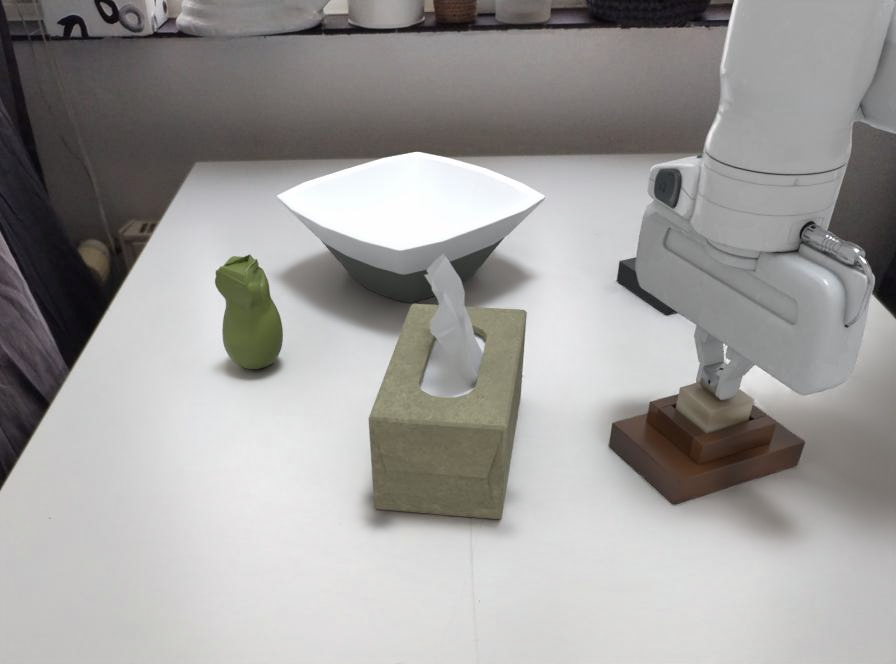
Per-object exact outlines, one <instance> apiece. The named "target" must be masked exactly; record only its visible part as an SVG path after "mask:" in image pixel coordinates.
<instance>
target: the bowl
mask: <svg viewBox="0 0 896 664" xmlns="http://www.w3.org/2000/svg"><path fill="white" fill-rule="evenodd" d="M276 198H277V200H278V202H280V203H281V204H282V205H283V206H284V208H286V209H287V210H288V211H289V212H290V213H291V214H292V215H293V216H294V217H295V218H296V219H297V220H298V221H299V222H301V224H303V225H304V226H305V227H306V228H307V229H308V230H309V231H310V232H311V233H312V234H313V235H314V236H315V237H317V238H318V239H319V240H320V241H321V242H322V244H323V245H324V246H325V248H327V250H328V251H329V252H330V253H331V254H332V256H333V257H334V258H335V259H336V260H337V262H338V263H339V264H340V265H341V266H342V267H343V269H344V270H345V271H346V273H347V274H348V275H350V277H352V278H353V279H354V281H356V282H357V283H358V284H360V285H362V286H363V287H366V289H369V290H371V291H372V292H374V293H377V294H379V295H382V296H384V297H386V298H388V299H392V300H395V301H399V302H402V303H405V304H406V303H407V304H408V303H413V302H417V301H421V300H426V299H429V298H431V297H433V296H435V294H434V293H433V291H432V286H431V285H430V283H429V282H428V280H427V279H426V277H425V275H426V274H428V272H427V271H426V270H427V269H428V268H429V267H430V266H431V264H432V263H433V262H434V261H435V260H436V259H437V258H439V257H440V256H441V255H442V254H444V255H445V256H446V258H447V259H448V261H449V262H450V264H451V265H452V267H453V268H454V270H455V271H456V273H457V274H458V276H459V277H460V279H461V281H462V284H465V282H467V281H468V280H470V279H471V278H473V277H474V276H475V274H476V273H477V272H478V271H479V269H480V268H481V267H482V266H483V265H484V264H485V262H487V260H488V259H489V257H490V256H491V255H492V254H493V253H494V251H495V250H496V249H497V248H498V246H499V245H500V244H501V243H502V241H503V240H504V239H505V238H506V237H507V236H509V235H510V234H511V233H512V232H513V231H514V230H515V229H516V228H517V227H518V226H519V225H520V224H521V223H522V222H523V221H524V220H526V218H527V217H528V216H529V215H531V213H533V211H534V210H536V208H537V207H539V205H540V204H542V203H543V202H544V201H545V199H546V196H545V195H544V194H543V193H541V192H539V191H537V190H535V189H533V188H532V187H530V186H528V185H527V184H525V183H523V182H521V181H518V180H515V179H513V178H510V177H508V176H505V175H503V174H501V173H498V172H496V171H494V170H492V169H489V168H486V167H483V166H480V165H479V166H478V165H476V164H472V163H468V162H465V161H461V160H459V159H454V158H451V157H446V156H442V155H436V154H431V153H426V152H421V151H414V152H408V153H403V154H402V153H401V154H397V155H392V156H387V157H386V156H385V157H382V158H379V159H376V160H372V161H369V162H365V163H362V164H358V165H354V166H352V167H349V168H345V169H341V170H338V171H336V172H332V173H330V174H326V175H322V176H320V177H317V178H314V179H310V180H306V181H304V182H302V183H300V184H298V185H296V186H294V187H292V188H289V189H288V190H285V191H283V192H281V193H279V194H277V195H276Z"/></svg>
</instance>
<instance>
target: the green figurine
mask: <svg viewBox="0 0 896 664" xmlns="http://www.w3.org/2000/svg"><path fill="white" fill-rule="evenodd" d="M214 285H215V287H216V289H217V291H218V292H219V294H220V295H221V296H222V297H223V298H224V300H225V309H224V312H223V313H224V314H223V317H222V318H223V319H222V330H221V331H222V333H221V334H222V343H223V347H224V350H225V352H226V354H227V356H228V357H229V358H230V359H231V361H233V363H235V364H236V365H238V366H240V367H242V368H244V369H246V370H247V369H248V370H259V369H263V368H266V367H268V366H270V365H271V364H273V363H274V362H275V361H276V360H277V358H278V357H279V355H280V353H281V350H282V348H283V342H284V329H283V322H282V318H281V315H280V313H279V310H278V307H277V306H276V304H275V302H274V300H273V298H272V296H271V291H270V290H271V289H270V284H269V280H268V277H267V275H266V273H265V271H264V269H263V268H262V267H260V266H259V261H258V259H257V258H254V257H253V256H252V255H251V253H249V254H247V255H245V256H237V255H236V256H235V255H233V256H230V257H229V258H228V260H227V261H225V263H224V264H223V265H222V266H219V268H218V269H217V270H215V279H214Z"/></svg>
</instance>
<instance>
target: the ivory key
mask: <svg viewBox="0 0 896 664" xmlns="http://www.w3.org/2000/svg"><path fill="white" fill-rule="evenodd" d="M678 390H679V391H678V394H679V395H678V399H677V404H676V410H677V411H679V412H680V413H681V414H682V415H684V416H685V417H686V418H688V419H689V420H690V421H691V422H693V423H694V424H695V425H696V426H698V427H699V428H700V429H701V430H703V431H704V432H705V433H710V432H713V431H717V430H720V429H724V428H727V427H730V426H734V425H737V424H741V423H744V422H747V421H748V420H749V417H750V413H751V410H752V406H753V405H754V402H755V399H754V398H753V397H752V396H750V395H749V394H747V393H746V392H745V391H744V390H743V389H741V388H739V391H738V393H737V395H736V396H734V397H733V398H729V399H725V400H720V399H719V398H717V397H716V396H715V395H714V394H712V393H711V392H710V391H708V390H707V389H705V388H704V387H702V386H701V385H700V384H699V383H697V382H694V383H691V384H687V385H683V386H680V387H679V389H678Z"/></svg>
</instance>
